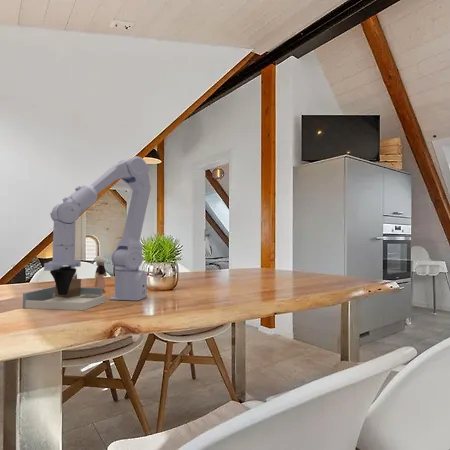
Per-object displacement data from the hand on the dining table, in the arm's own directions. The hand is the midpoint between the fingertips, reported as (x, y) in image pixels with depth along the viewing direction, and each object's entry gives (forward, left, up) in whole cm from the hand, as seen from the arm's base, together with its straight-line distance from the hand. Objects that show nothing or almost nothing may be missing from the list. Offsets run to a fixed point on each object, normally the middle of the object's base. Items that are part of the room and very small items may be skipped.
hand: (62, 294), depth 102 cm
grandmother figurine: (+2, -25, -3) cm, 25 cm away
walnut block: (+1, -4, -1) cm, 5 cm away
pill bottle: (+9, -17, -3) cm, 19 cm away
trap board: (0, -2, -3) cm, 4 cm away
